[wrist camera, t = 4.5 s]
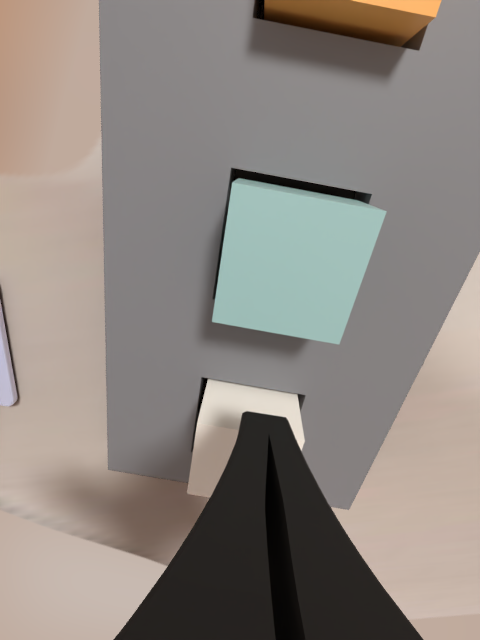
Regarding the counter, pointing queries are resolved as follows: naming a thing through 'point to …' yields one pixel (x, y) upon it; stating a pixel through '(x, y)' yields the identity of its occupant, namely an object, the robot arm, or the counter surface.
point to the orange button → (356, 17)
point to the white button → (232, 427)
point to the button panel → (289, 162)
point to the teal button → (293, 260)
